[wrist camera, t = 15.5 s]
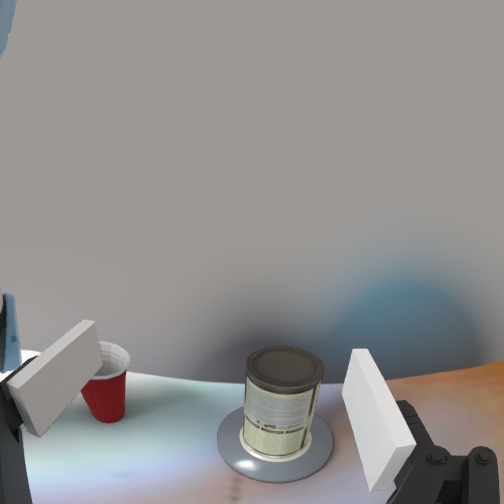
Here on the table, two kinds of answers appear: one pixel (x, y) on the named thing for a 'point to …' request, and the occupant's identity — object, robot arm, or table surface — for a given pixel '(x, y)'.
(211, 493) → the table surface
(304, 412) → the coffee can
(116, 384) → the plastic cup
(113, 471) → the table surface
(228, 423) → the slate plate
